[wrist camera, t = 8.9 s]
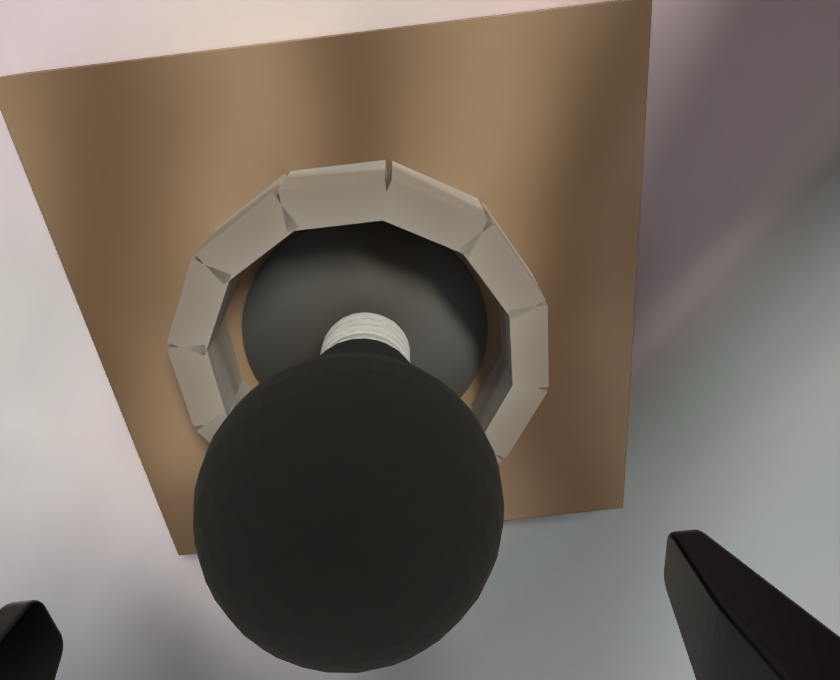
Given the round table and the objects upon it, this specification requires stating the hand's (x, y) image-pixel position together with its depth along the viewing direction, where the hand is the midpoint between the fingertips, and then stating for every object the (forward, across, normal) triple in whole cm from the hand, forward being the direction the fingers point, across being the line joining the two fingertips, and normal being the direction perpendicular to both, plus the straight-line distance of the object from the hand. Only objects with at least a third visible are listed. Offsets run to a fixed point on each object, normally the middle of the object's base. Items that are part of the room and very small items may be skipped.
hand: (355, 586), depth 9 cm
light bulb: (+10, 0, +1) cm, 10 cm away
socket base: (+12, 0, +1) cm, 12 cm away
